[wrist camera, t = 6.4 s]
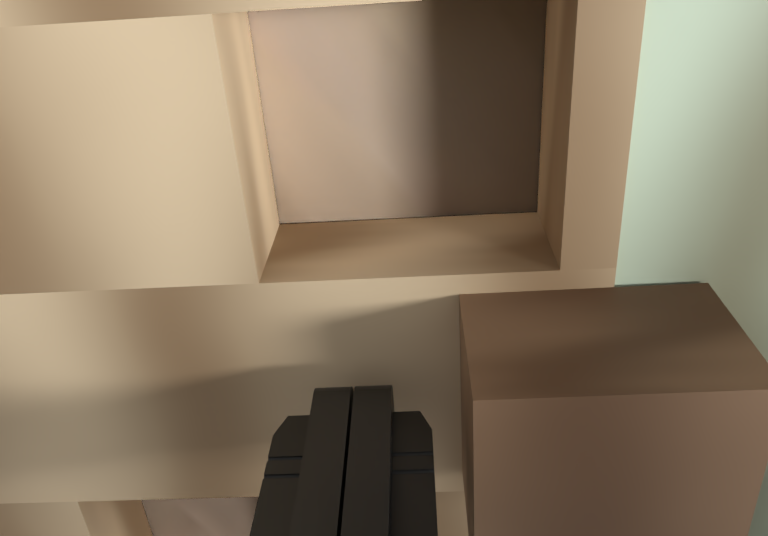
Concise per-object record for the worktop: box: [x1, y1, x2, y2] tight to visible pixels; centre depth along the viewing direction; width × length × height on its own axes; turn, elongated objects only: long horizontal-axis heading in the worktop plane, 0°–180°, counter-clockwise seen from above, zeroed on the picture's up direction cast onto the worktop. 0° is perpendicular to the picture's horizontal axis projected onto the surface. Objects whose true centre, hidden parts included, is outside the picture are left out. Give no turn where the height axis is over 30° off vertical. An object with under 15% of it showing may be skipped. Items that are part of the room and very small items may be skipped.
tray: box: [0, 0, 768, 536], centre depth 14 cm, size 22×16×4 cm
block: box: [459, 283, 768, 536], centre depth 13 cm, size 4×4×3 cm
